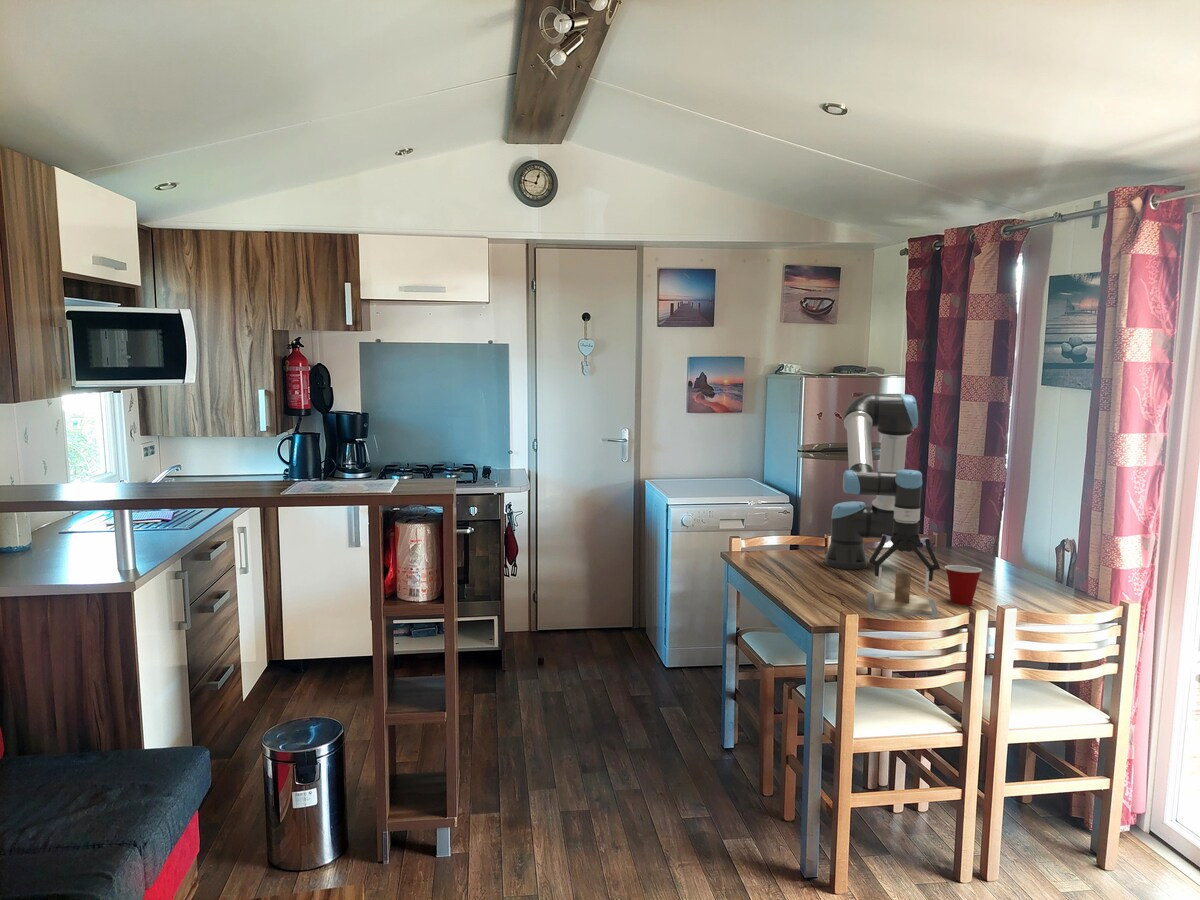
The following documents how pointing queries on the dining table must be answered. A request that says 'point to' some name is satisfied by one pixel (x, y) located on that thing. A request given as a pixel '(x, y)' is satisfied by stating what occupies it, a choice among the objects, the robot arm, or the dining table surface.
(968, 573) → the plastic cup
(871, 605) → the mat
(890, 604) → the lid
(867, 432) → the robot arm
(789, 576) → the dining table surface
